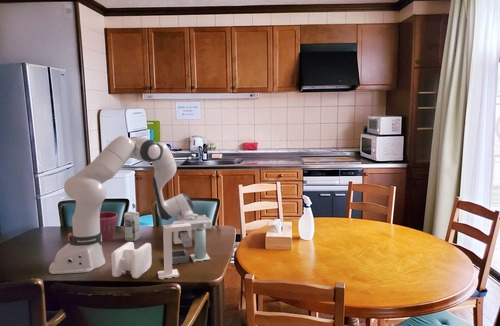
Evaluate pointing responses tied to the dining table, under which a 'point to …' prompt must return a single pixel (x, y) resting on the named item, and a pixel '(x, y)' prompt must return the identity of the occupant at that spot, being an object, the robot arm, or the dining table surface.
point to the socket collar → (179, 256)
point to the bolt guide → (167, 238)
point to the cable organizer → (131, 260)
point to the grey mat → (199, 259)
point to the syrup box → (132, 226)
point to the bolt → (185, 238)
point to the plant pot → (108, 224)
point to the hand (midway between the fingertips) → (194, 229)
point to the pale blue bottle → (200, 243)
